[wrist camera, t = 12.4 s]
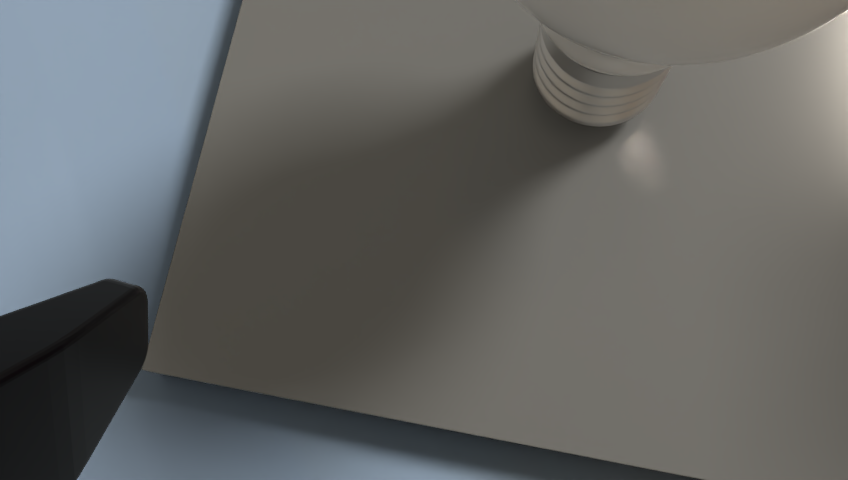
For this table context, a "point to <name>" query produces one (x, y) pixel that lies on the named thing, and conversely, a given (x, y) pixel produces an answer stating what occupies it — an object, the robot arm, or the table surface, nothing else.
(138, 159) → the table surface
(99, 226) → the table surface
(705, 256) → the slate tile
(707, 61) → the lightbulb
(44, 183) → the table surface
